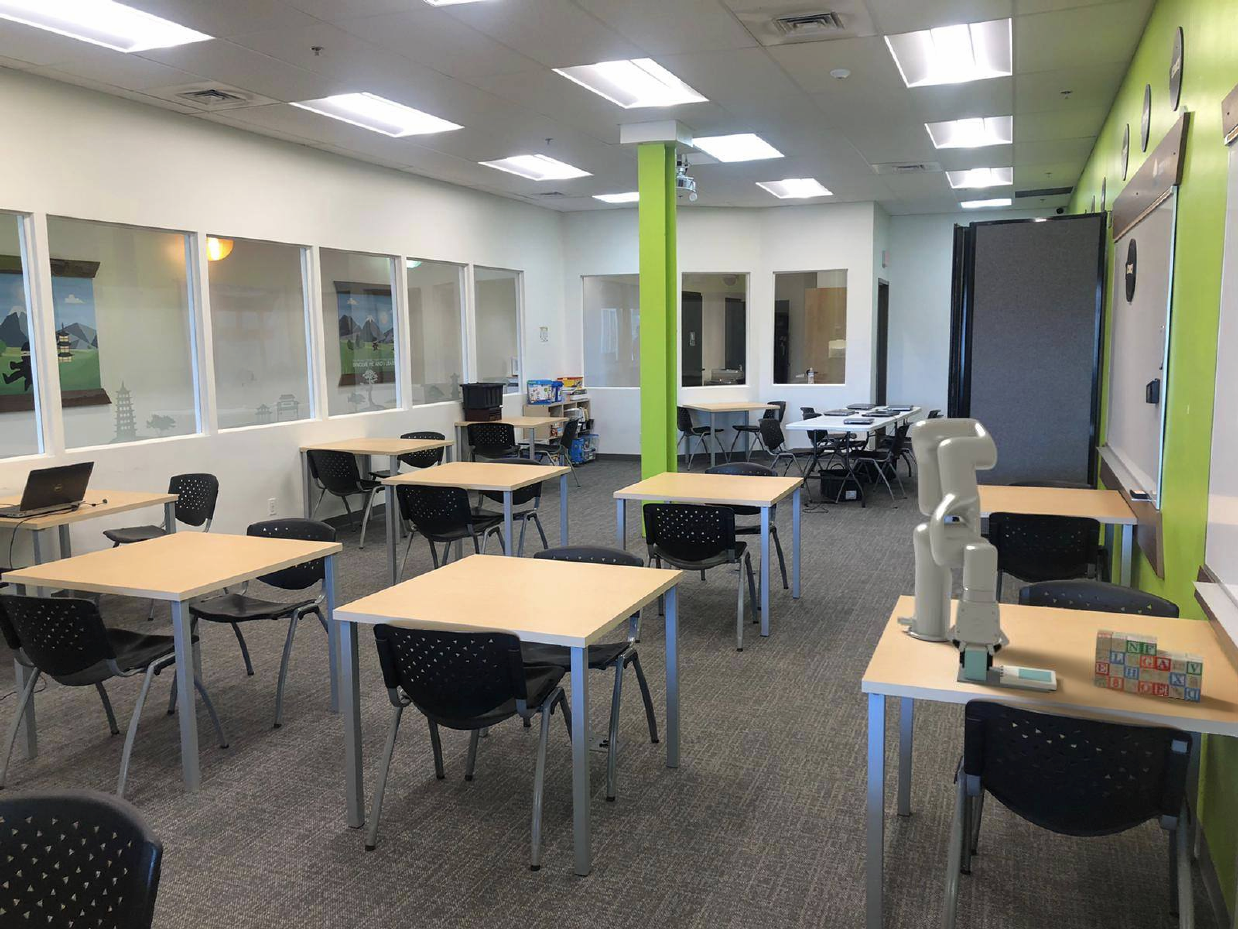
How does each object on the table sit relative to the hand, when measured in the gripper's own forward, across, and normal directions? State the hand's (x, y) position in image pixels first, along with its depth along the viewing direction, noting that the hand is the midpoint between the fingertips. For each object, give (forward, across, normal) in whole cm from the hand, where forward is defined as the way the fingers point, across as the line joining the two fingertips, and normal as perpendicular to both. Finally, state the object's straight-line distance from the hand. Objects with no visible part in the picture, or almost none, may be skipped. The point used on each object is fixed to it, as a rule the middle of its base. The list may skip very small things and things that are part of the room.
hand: (975, 667), depth 225 cm
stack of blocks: (+2, +37, +4) cm, 37 cm away
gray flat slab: (+2, +7, 0) cm, 7 cm away
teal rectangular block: (+2, 0, 0) cm, 2 cm away
